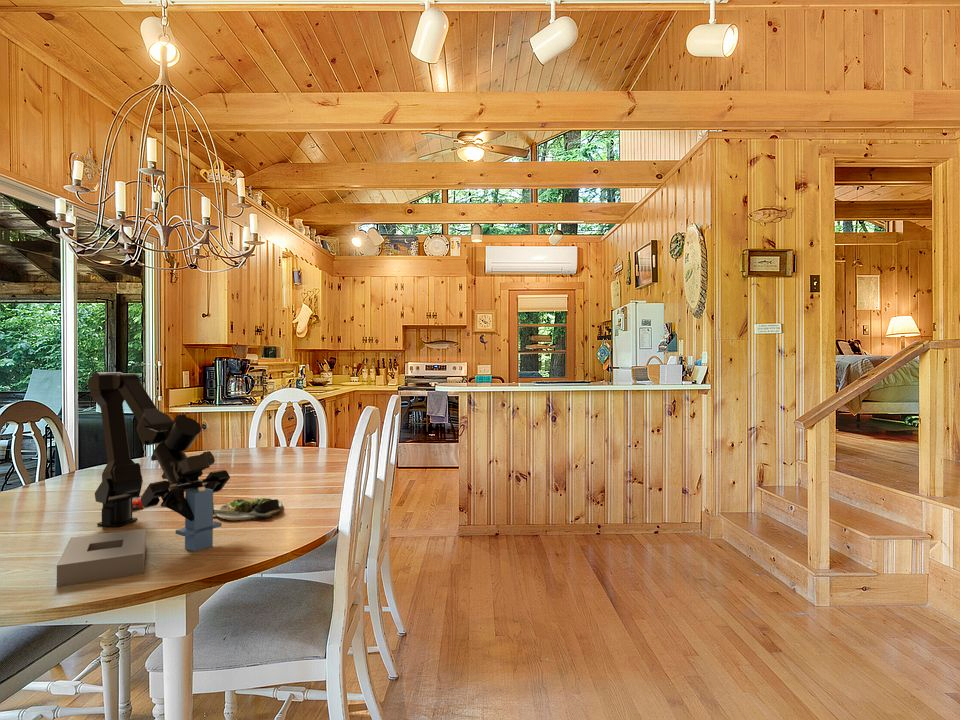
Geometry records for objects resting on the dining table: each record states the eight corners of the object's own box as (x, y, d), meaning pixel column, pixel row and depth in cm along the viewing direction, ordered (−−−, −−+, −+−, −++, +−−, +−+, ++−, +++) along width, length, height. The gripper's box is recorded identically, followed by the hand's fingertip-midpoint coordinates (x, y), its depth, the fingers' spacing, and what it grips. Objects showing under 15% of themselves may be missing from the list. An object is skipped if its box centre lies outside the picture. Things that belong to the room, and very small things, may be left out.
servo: (175, 551, 124) (176, 489, 124) (211, 540, 132) (212, 482, 132) (184, 554, 123) (185, 492, 122) (221, 543, 130) (221, 484, 130)
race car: (145, 510, 158) (145, 496, 158) (122, 513, 154) (122, 499, 154) (135, 500, 168) (135, 487, 167) (114, 503, 164) (114, 489, 164)
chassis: (70, 556, 121) (70, 537, 121) (145, 545, 128) (146, 528, 128) (56, 586, 105) (56, 565, 105) (143, 573, 112) (143, 553, 112)
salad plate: (200, 527, 143) (200, 509, 143) (211, 508, 160) (211, 492, 160) (280, 521, 149) (280, 504, 149) (283, 504, 166) (283, 488, 166)
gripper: (148, 446, 121) (177, 505, 116) (225, 436, 137) (254, 487, 132) (128, 478, 125) (155, 536, 120) (205, 465, 141) (233, 515, 136)
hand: (202, 517), depth 126 cm, fingers closed on servo, 4 cm apart
